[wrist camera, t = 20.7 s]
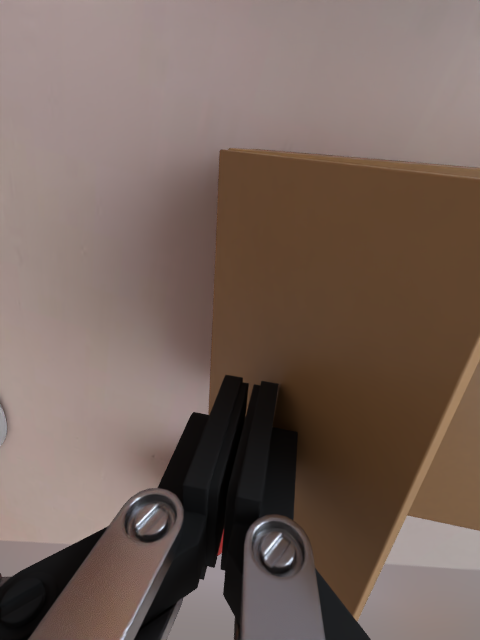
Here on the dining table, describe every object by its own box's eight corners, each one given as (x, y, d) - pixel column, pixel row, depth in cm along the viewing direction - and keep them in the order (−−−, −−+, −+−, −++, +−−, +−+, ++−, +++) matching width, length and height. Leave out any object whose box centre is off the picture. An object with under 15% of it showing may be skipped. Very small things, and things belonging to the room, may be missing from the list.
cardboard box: (235, 387, 24) (207, 474, 18) (255, 149, 17) (222, 148, 11) (513, 436, 22) (599, 557, 15) (664, 183, 15) (932, 207, 8)
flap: (212, 469, 18) (205, 472, 18) (230, 150, 11) (218, 149, 11) (331, 677, 11) (322, 685, 11) (562, 187, 4) (548, 186, 4)
